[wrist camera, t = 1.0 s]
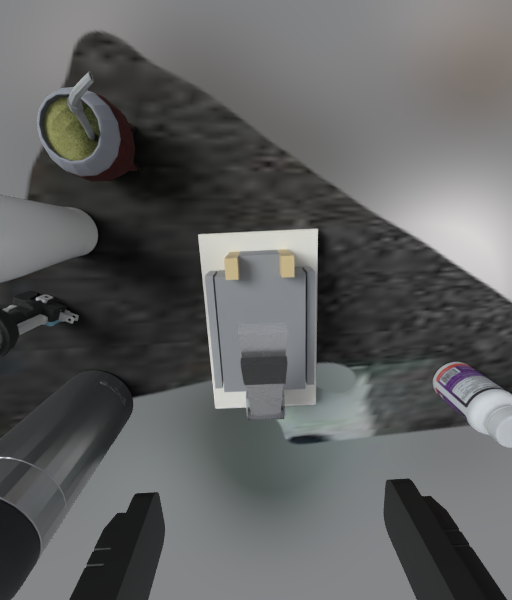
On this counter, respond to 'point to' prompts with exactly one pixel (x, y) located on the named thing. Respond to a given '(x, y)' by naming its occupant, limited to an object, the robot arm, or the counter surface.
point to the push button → (29, 317)
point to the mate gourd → (86, 133)
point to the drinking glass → (41, 236)
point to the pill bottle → (476, 400)
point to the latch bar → (264, 367)
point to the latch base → (260, 241)
